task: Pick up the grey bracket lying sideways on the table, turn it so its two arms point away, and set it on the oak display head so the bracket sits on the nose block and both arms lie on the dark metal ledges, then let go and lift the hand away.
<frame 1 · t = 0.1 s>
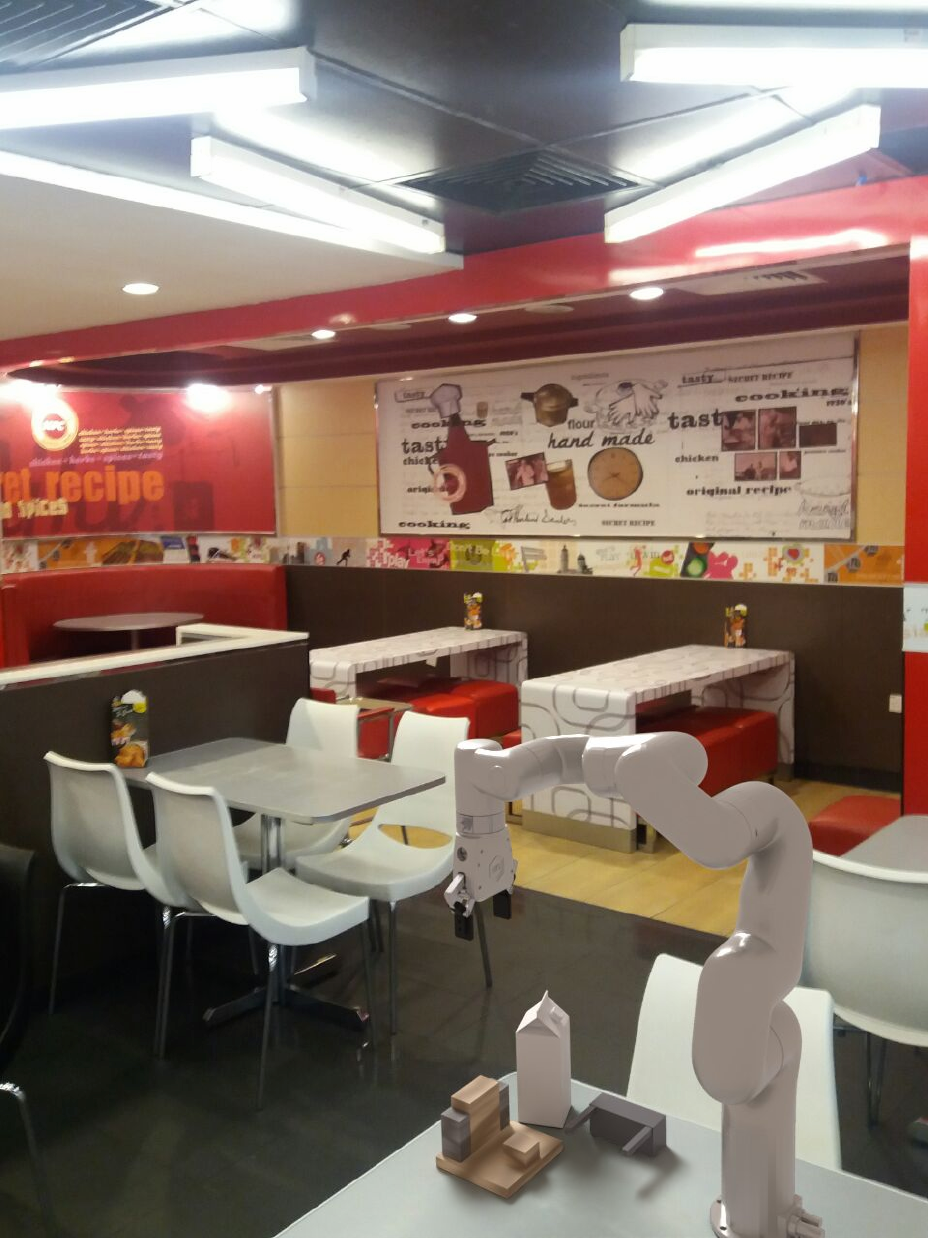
hand: (483, 927, 174), 31 cm above the table, tool pointing down, fingers open, 9 cm apart
grey bracket: (627, 1140, 171), on the table
milk carton: (545, 1115, 178), on the table
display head: (521, 1167, 165), on the table
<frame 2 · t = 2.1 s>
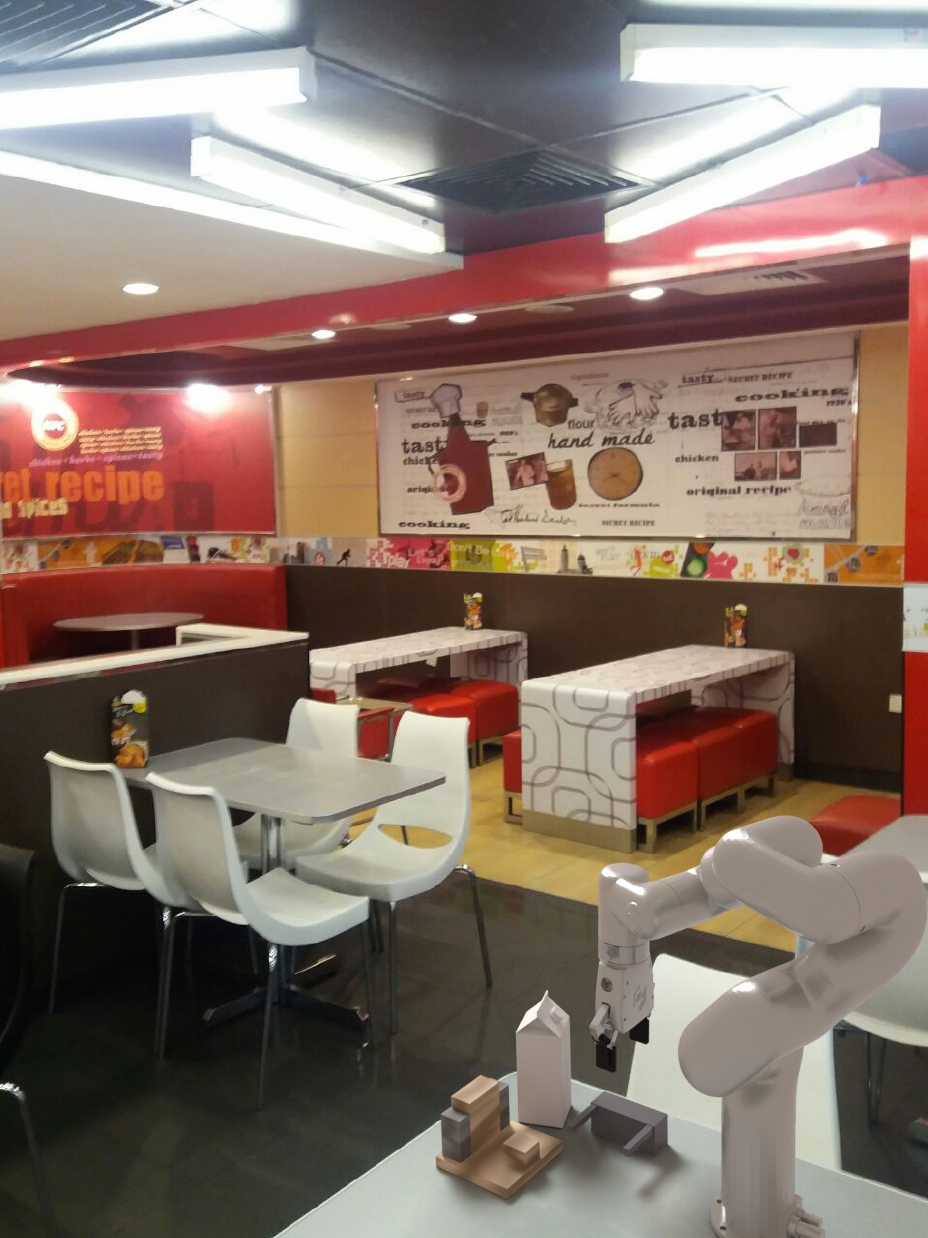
hand: (622, 1055, 170), 13 cm above the table, tool pointing down, fingers open, 9 cm apart
nothing on the table moved.
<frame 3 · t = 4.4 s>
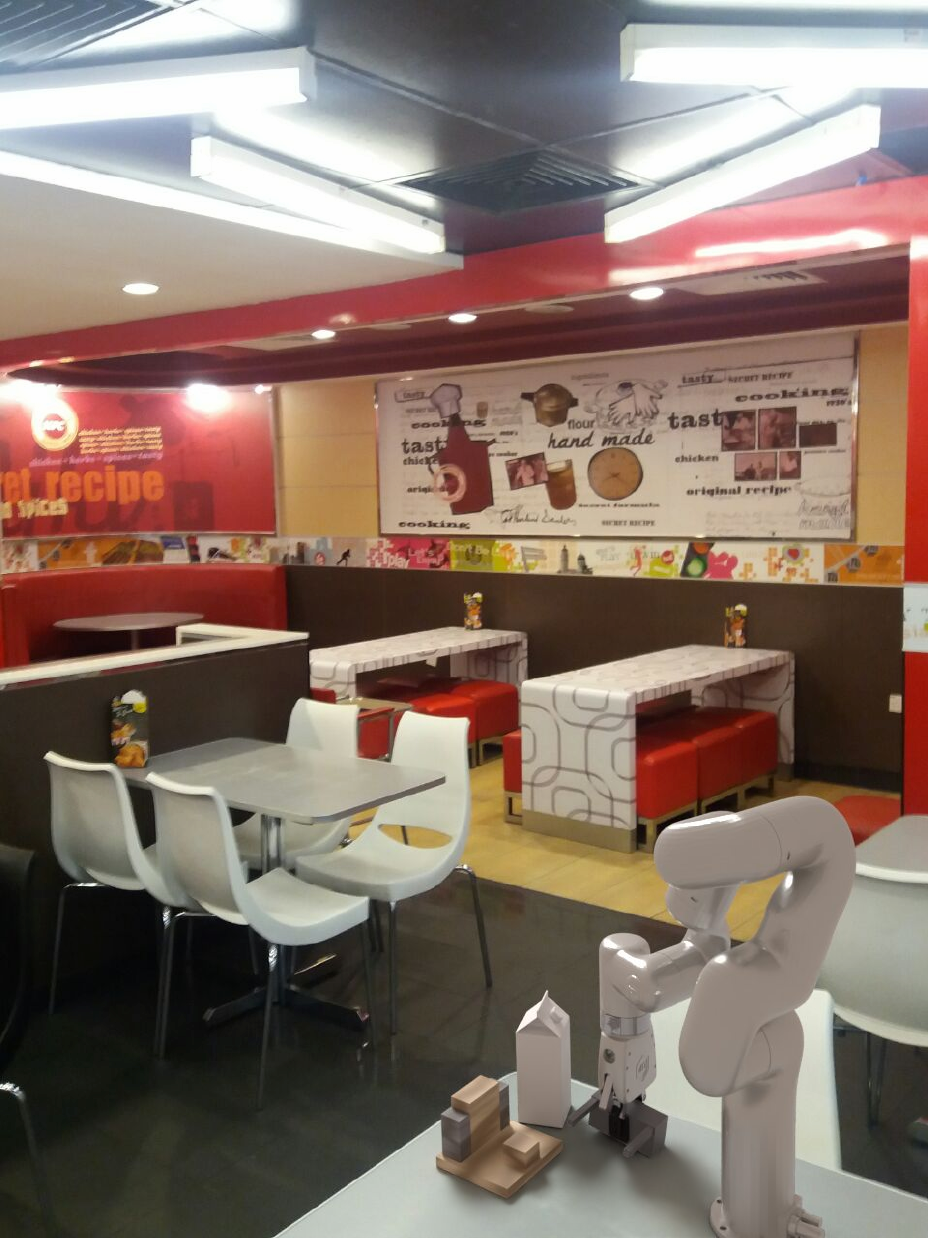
hand: (626, 1131, 171), 1 cm above the table, tool pointing down, fingers closed on grey bracket, 3 cm apart
grey bracket: (625, 1135, 171), point 1 cm above the table, tilted 8°, touching gripper
everything else where it was.
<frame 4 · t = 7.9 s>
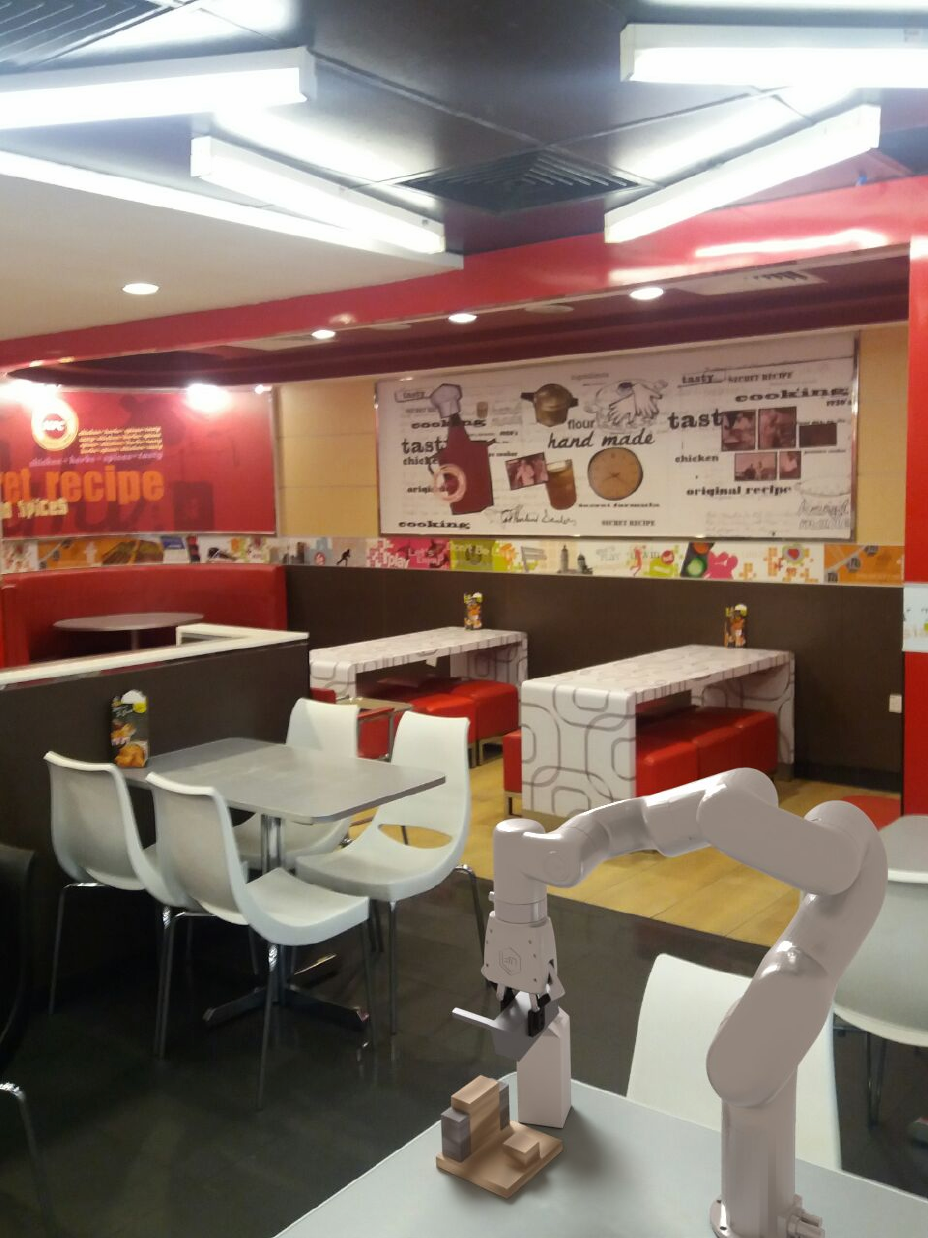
hand: (522, 1027, 162), 22 cm above the table, tool pointing down, fingers closed on grey bracket, 4 cm apart
grey bracket: (528, 1033, 164), point 20 cm above the table, tilted 15°, touching gripper
everything else where it was.
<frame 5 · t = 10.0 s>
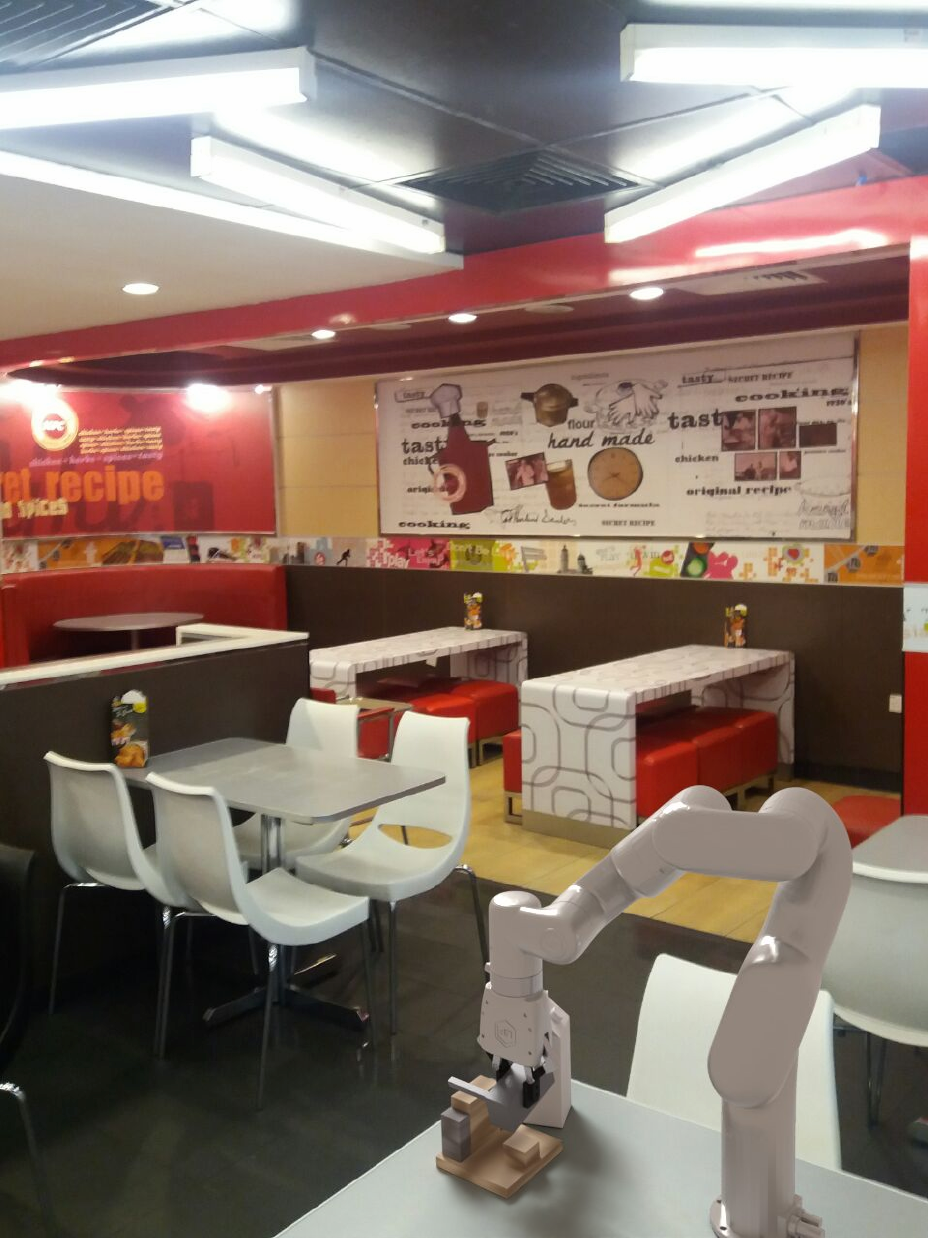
hand: (518, 1097, 163), 11 cm above the table, tool pointing down, fingers closed on grey bracket, 4 cm apart
grey bracket: (523, 1102, 165), point 9 cm above the table, tilted 15°, touching gripper
everything else where it was.
when the fingers open (6 cm above the table, at t = 11.7 s): grey bracket moves 1 cm, resting on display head.
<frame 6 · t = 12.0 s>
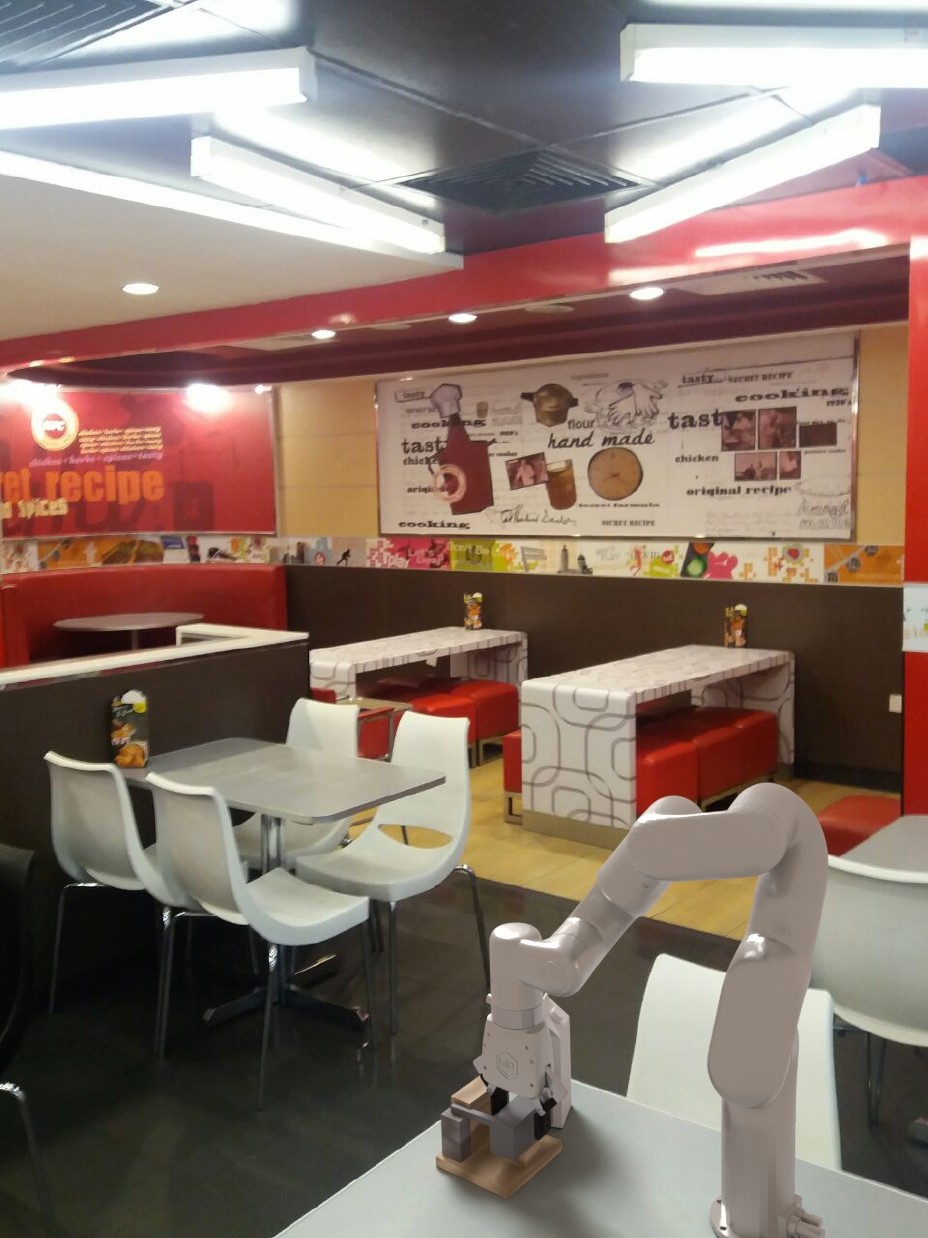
hand: (520, 1126, 164), 7 cm above the table, tool pointing down, fingers open, 7 cm apart
grey bracket: (522, 1138, 165), point 4 cm above the table, touching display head
everything else where it was.
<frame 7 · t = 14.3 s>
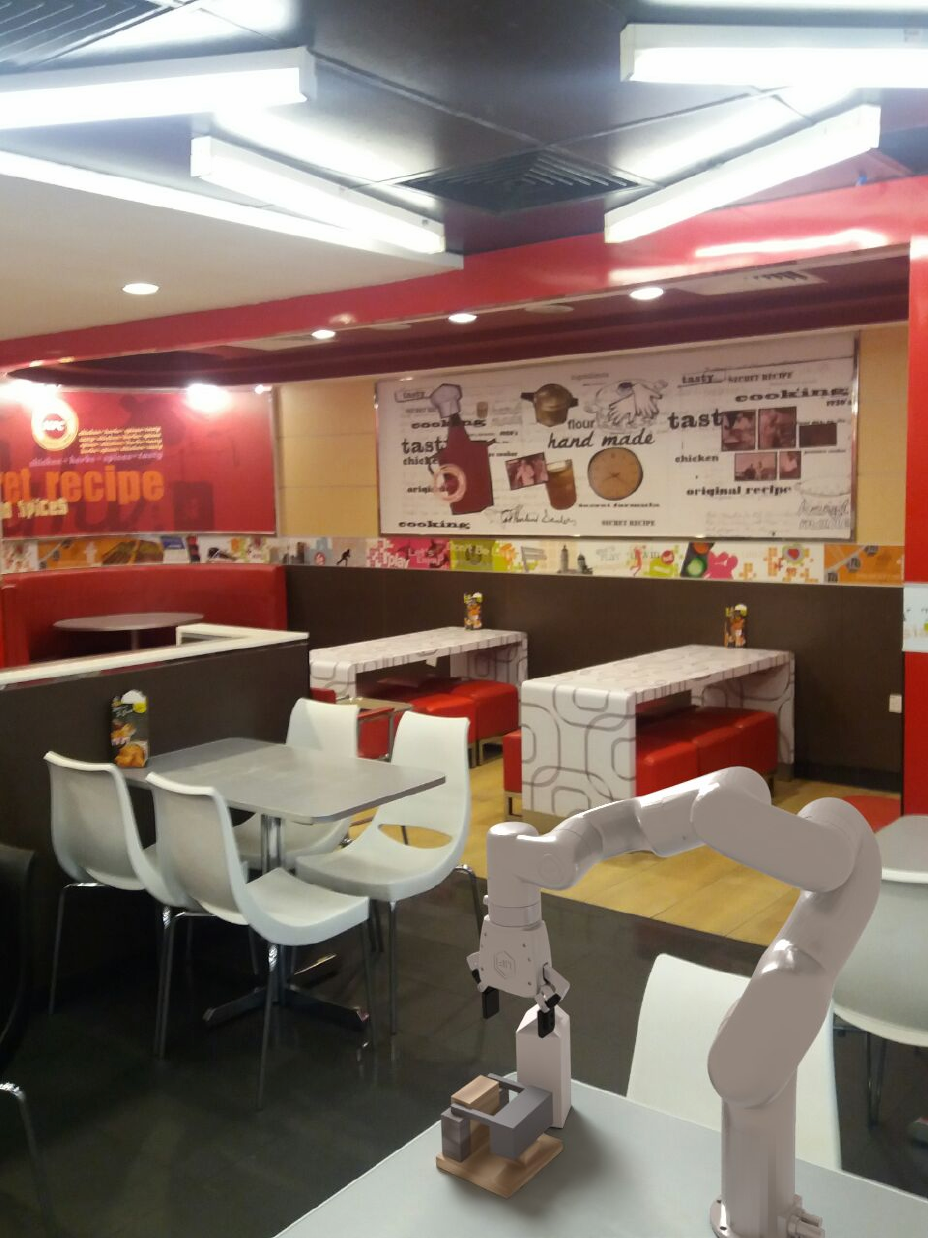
hand: (518, 1024, 162), 22 cm above the table, tool pointing down, fingers open, 9 cm apart
nothing on the table moved.
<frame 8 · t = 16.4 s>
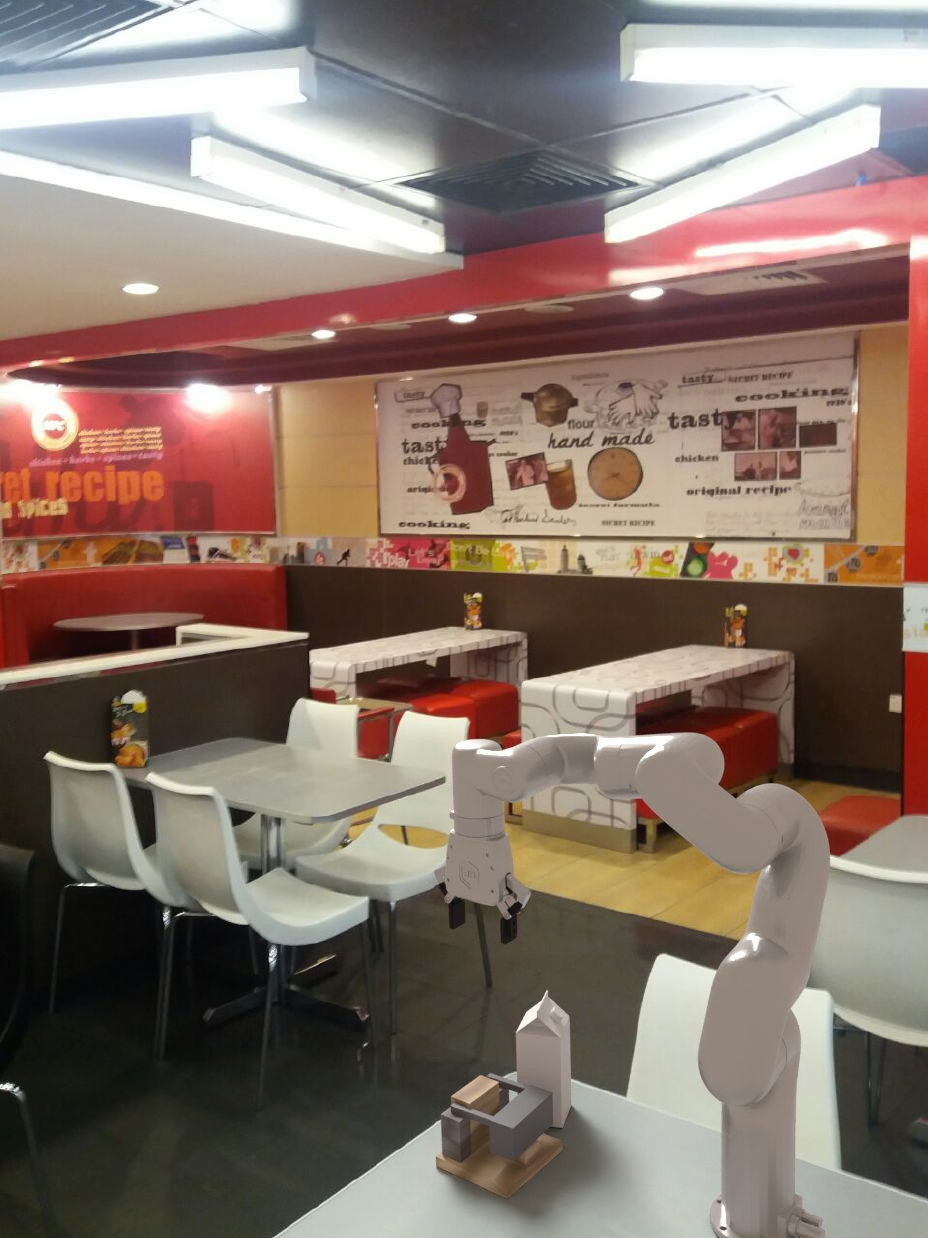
hand: (482, 933, 169), 32 cm above the table, tool pointing down, fingers open, 9 cm apart
nothing on the table moved.
at the end: grey bracket 1.1 cm off-centre on the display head, point 4.0 cm above the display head's base; grey bracket tilted 0°; the gripper is holding nothing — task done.
